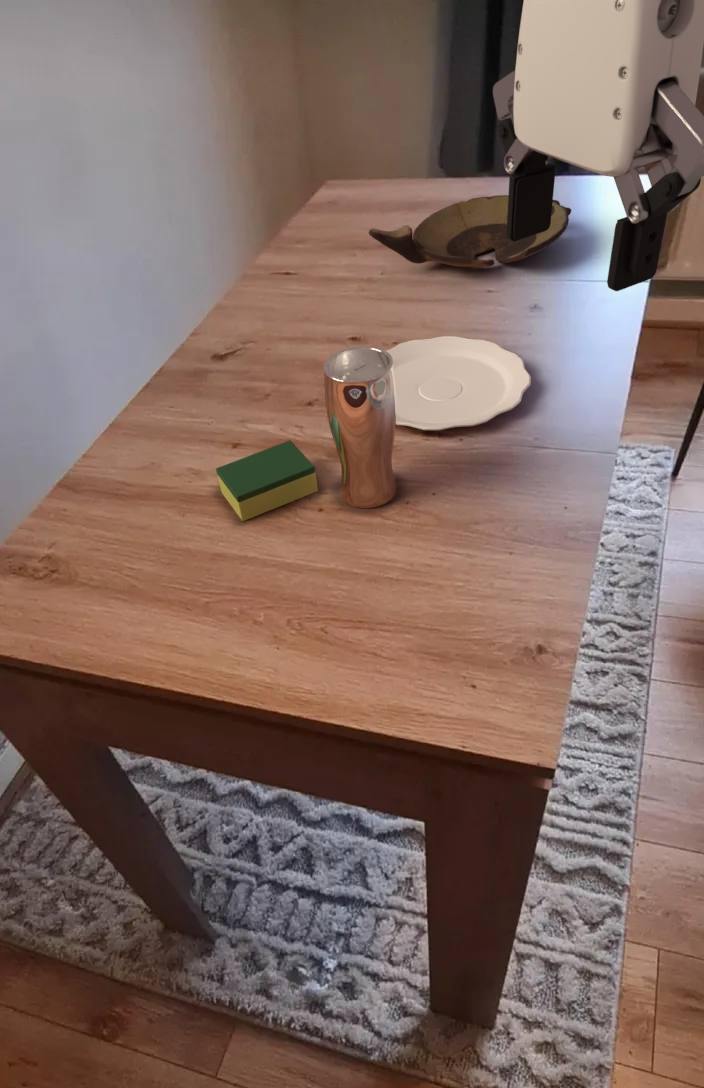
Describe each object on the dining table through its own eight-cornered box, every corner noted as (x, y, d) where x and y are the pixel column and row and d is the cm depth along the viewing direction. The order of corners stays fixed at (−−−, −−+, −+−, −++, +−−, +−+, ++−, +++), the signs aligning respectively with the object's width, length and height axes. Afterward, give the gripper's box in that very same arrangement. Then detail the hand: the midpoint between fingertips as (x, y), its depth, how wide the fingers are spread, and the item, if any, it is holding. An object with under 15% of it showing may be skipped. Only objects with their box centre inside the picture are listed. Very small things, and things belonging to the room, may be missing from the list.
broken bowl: (580, 281, 114) (587, 225, 108) (370, 295, 118) (366, 242, 112) (560, 220, 129) (565, 169, 124) (375, 235, 133) (373, 186, 128)
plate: (496, 454, 87) (497, 441, 86) (326, 422, 95) (325, 410, 94) (549, 360, 99) (550, 348, 98) (395, 339, 108) (394, 327, 106)
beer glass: (328, 507, 84) (311, 380, 73) (346, 468, 88) (333, 343, 78) (393, 514, 82) (385, 385, 71) (407, 474, 86) (402, 346, 76)
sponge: (294, 464, 90) (290, 439, 88) (318, 491, 86) (314, 466, 84) (221, 492, 88) (215, 468, 85) (242, 521, 84) (236, 497, 81)
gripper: (832, -110, 34) (728, 286, 46) (563, -113, 45) (537, 205, 57) (696, -79, 32) (626, 326, 44) (451, -90, 43) (449, 234, 55)
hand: (576, 257), depth 50 cm, fingers open, 9 cm apart
